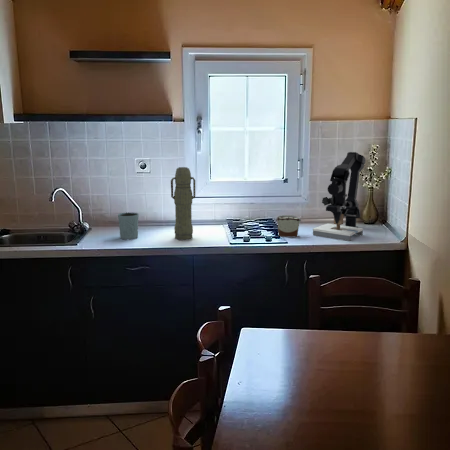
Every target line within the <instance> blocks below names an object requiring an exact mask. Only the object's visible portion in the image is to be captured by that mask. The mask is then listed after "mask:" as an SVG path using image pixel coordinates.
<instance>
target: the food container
mask: <svg viewBox="0 0 450 450" xmlns="http://www.w3.org/2000/svg"><path fill="white" fill-rule="evenodd" d="M300 222H302V220H301V217H300V216H297V215H293V214H292V215H290V214H287V215H285V214H284V215H279V216H278V215H277V217H276V223H277V232H278V233H277V234H278V237H279V236H281V237H283V238H284V237H286V238H298V237H299V236H298V234H299V228H300Z"/></svg>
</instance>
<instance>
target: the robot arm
mask: <svg viewBox="0 0 450 450" xmlns="http://www.w3.org/2000/svg"><path fill="white" fill-rule="evenodd" d="M366 161H367V160H366V157H365V156H364V155H362V154H359V153H358V152H356V151H349V152H347V154H346V157H344V159H343V160H342V162H341V164H338V165H336V166H335V167H334V168H333V170H332V172H331V176H330V180H329V181H330V182H331V183H330V184H328V187H327V192H328V194H329V195H330V197H328V196H326V197H322V200H321V203H322V204H323V206H325V211H326V212H331V213H332V215H333V220H334V219H335V222H336V224H335V225H337V224H338V222H339V220H340V217H341V214H344V216H343V219H344V218H345V225H344V226H349V227H356V228H359V226H357V219H361V211H360V208H359V203H358V199H357V195H358V189H359V182H360V174H361V172H362V171H363V169H364V166H365V164H366ZM348 180H349V184H348V192H347V193H346V191H347V182H348ZM346 197H347V198H346Z"/></svg>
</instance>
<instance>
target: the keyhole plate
mask: <svg viewBox="0 0 450 450" xmlns="http://www.w3.org/2000/svg"><path fill="white" fill-rule="evenodd" d="M336 226H337V224H334V223H324V224H322V225H319V226H316V227H314V228H312V236H316V237H322V238H327V239H328V238H329V239H333V240H340V241H348V242H349V241H350V242H351V241H352V236H353V235H354V234H355V235H354V236H360V235H361V236H364V235H363V234H364V228H363V227H358V228H356V227H349V226H345V225H343V224H341V225H340V229H342V230H335V229H336Z"/></svg>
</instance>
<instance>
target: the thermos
mask: <svg viewBox="0 0 450 450" xmlns="http://www.w3.org/2000/svg"><path fill="white" fill-rule="evenodd" d="M192 180H193V181H192ZM174 182H175V183H174ZM192 183H193V187H191V184H192ZM174 184H175V189H174ZM192 189H193V190H192ZM170 191H171V192H170V194H171V195H170V198H172V199H173V200H174V209H175V223H174V239H175V240H178V241H189V240H192V239H193V233H194V230H193V229H194V227H193V221H192V205H193V200H194V199H195V198H196V178H194V176H192V174H191V170H190V168H188V167H187V166H186V167H185V166H181V167H179V166H178V167H177V168H176V170H175V175H174V177H172V178H171V180H170Z"/></svg>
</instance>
